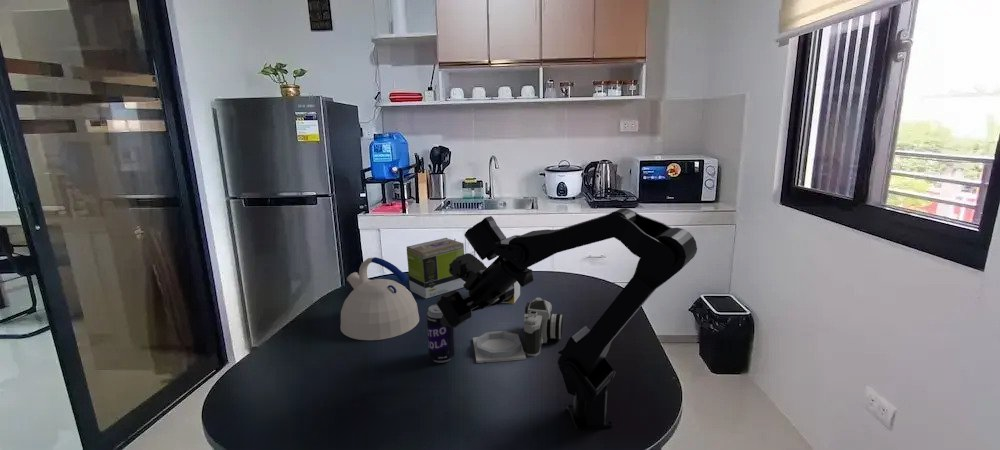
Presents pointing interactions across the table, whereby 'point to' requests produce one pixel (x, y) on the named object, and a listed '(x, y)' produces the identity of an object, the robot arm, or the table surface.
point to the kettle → (378, 305)
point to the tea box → (433, 267)
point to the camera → (540, 325)
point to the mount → (498, 347)
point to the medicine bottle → (515, 295)
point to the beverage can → (439, 336)
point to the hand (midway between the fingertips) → (457, 316)
